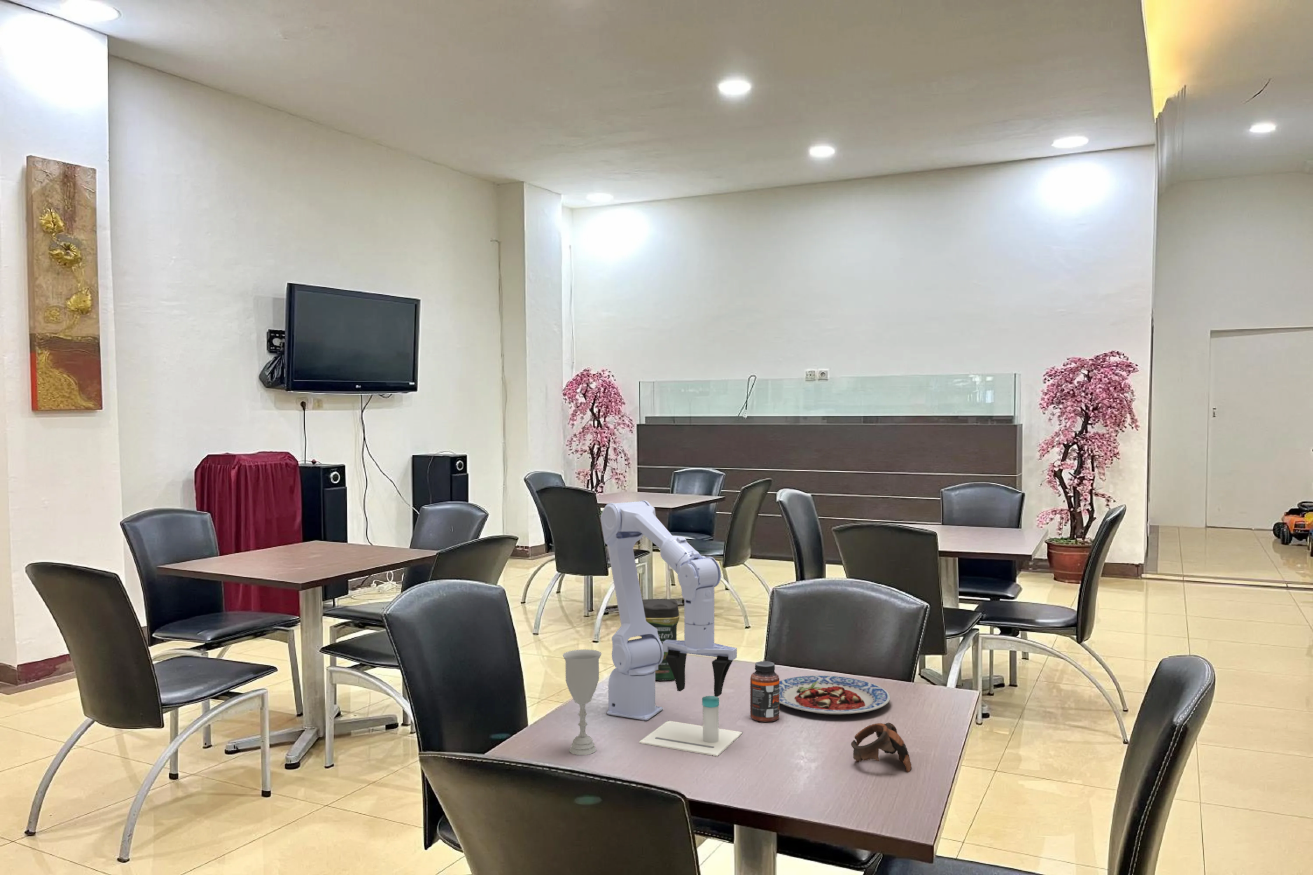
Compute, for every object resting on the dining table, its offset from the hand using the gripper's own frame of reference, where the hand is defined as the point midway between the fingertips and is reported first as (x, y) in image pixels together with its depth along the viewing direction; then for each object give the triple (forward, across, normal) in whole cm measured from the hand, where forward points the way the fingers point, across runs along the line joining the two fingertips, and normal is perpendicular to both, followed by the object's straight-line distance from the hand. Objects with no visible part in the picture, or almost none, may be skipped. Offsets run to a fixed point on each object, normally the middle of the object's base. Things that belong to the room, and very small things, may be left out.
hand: (699, 692), depth 178 cm
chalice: (+10, -18, -13) cm, 24 cm away
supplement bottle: (+10, +7, +17) cm, 21 cm away
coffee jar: (+10, -24, +35) cm, 43 cm away
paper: (+9, -2, 0) cm, 9 cm away
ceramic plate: (+10, +16, +33) cm, 38 cm away
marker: (+9, +2, 0) cm, 9 cm away
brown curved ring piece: (+10, +34, +3) cm, 36 cm away
